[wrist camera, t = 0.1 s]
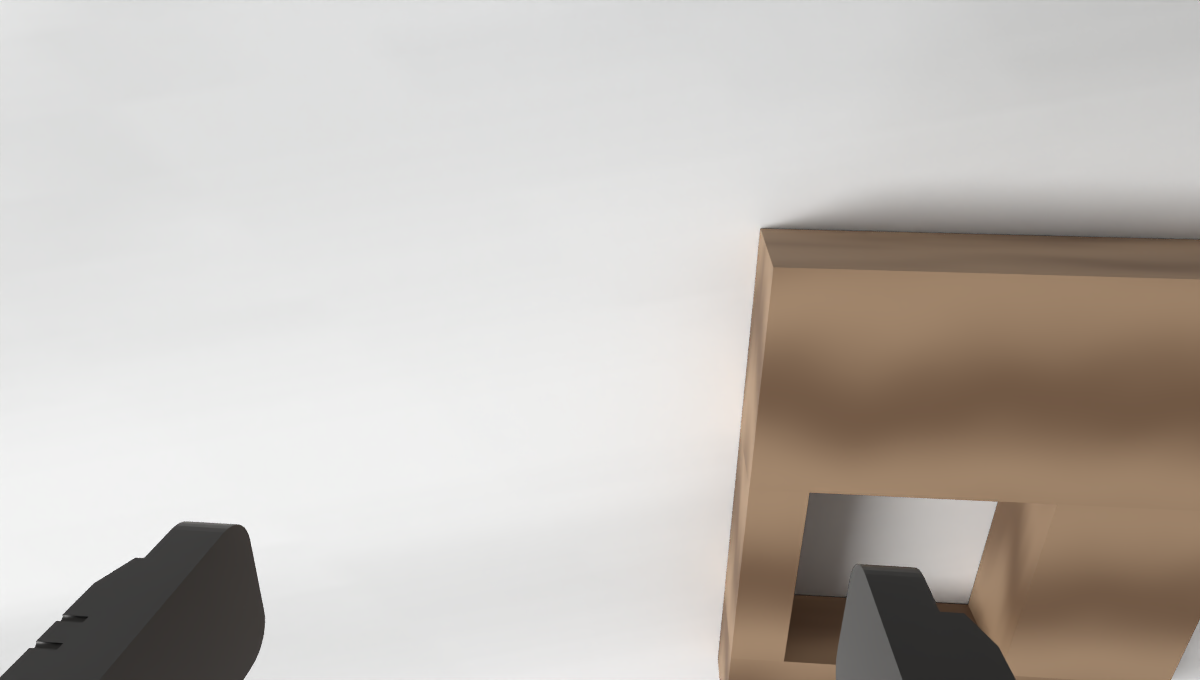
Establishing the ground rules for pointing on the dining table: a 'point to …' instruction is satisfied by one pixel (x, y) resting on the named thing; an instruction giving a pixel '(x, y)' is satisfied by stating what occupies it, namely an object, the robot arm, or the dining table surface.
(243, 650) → the robot arm
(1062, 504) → the socket block
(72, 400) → the dining table surface
